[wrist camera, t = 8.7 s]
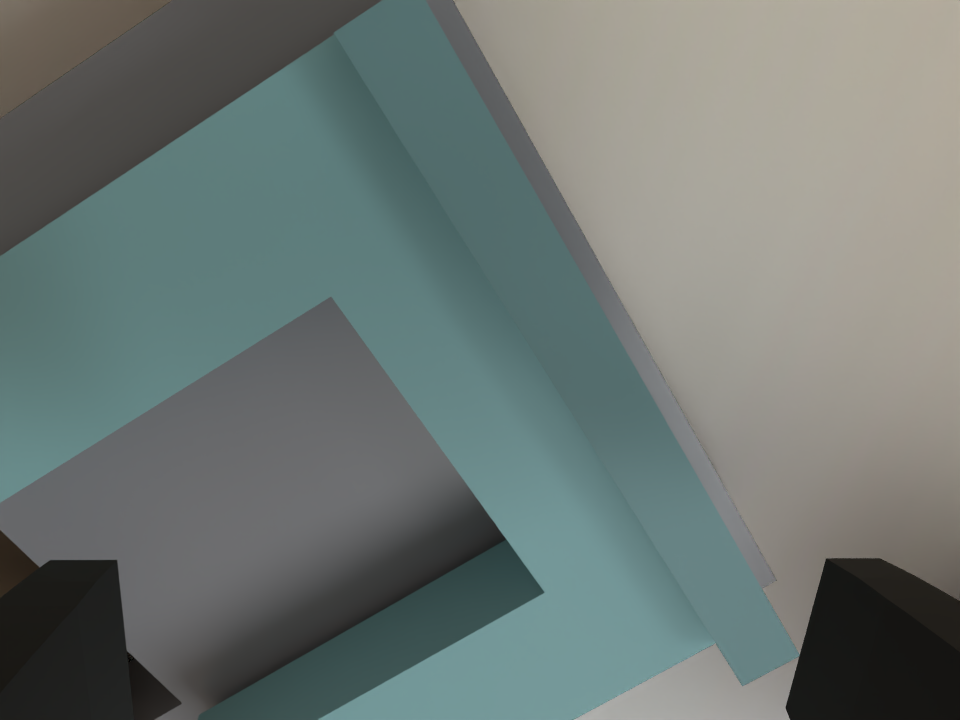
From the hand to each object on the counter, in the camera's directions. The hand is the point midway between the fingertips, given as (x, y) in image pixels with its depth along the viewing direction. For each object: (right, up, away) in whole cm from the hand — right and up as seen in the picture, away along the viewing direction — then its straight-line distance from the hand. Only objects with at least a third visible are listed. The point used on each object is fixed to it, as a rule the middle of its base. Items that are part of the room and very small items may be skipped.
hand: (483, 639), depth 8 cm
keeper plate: (-3, +1, +5) cm, 6 cm away
